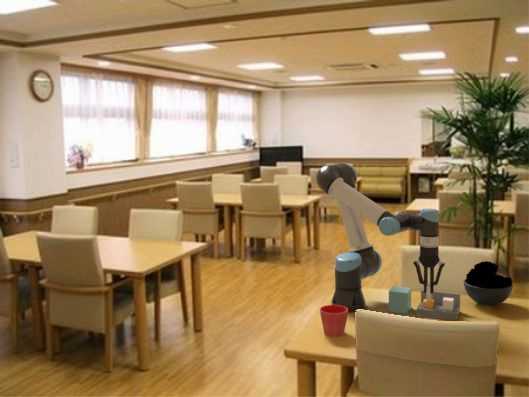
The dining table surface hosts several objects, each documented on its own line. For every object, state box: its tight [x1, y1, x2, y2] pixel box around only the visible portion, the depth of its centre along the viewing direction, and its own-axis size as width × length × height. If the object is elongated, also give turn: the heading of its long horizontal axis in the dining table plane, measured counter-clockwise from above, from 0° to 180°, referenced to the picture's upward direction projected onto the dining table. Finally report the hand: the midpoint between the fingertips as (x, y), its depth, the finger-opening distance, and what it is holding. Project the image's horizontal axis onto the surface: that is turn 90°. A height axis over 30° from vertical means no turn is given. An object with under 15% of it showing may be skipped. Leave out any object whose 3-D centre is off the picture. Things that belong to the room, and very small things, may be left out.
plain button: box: [443, 297, 454, 311], centre depth 228 cm, size 4×4×5 cm
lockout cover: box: [388, 285, 412, 314], centre depth 236 cm, size 8×8×9 cm
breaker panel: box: [416, 289, 461, 321], centre depth 230 cm, size 16×12×8 cm
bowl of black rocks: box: [463, 260, 514, 307], centre depth 239 cm, size 20×20×19 cm
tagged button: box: [423, 299, 434, 308], centre depth 231 cm, size 4×4×5 cm
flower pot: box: [319, 304, 349, 337], centre depth 212 cm, size 11×11×10 cm
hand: (428, 300), depth 231 cm, fingers closed
